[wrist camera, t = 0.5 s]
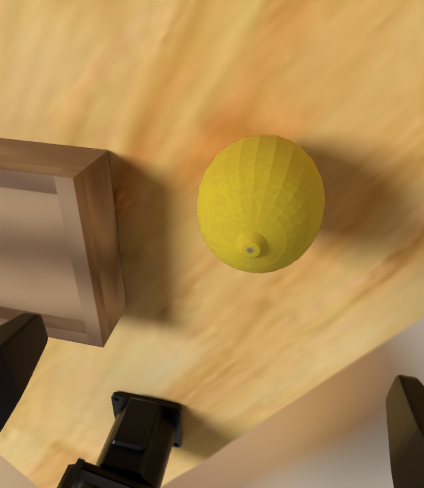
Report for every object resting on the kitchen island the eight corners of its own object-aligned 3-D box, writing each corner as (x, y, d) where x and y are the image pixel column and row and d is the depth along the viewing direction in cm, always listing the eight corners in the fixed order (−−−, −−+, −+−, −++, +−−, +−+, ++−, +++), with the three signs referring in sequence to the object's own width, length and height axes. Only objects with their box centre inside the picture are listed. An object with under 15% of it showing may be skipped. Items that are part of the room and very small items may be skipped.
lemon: (313, 103, 18) (320, 164, 11) (326, 205, 21) (338, 304, 14) (204, 127, 20) (154, 194, 13) (229, 220, 22) (199, 313, 16)
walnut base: (126, 306, 28) (103, 347, 25) (-18, 281, 30) (-58, 316, 26) (107, 150, 21) (72, 178, 18) (-77, 129, 23) (-140, 151, 20)
